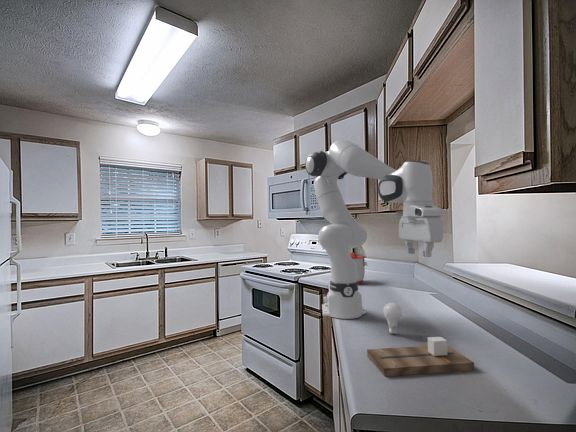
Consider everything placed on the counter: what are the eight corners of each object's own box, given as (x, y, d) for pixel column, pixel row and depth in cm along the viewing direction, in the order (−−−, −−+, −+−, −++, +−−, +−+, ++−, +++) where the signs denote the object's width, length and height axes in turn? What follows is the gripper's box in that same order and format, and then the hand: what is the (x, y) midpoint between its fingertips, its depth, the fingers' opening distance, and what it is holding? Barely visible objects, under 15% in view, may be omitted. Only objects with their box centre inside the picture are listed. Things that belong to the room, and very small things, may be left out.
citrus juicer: (367, 286, 189) (366, 253, 189) (339, 284, 194) (338, 253, 195) (368, 281, 204) (368, 251, 204) (342, 280, 209) (342, 250, 210)
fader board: (384, 376, 79) (384, 367, 79) (367, 356, 91) (367, 348, 91) (474, 369, 82) (473, 361, 82) (446, 351, 94) (445, 343, 94)
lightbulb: (379, 332, 111) (379, 301, 111) (393, 329, 113) (393, 299, 113) (391, 338, 105) (391, 306, 105) (406, 335, 107) (405, 303, 107)
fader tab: (434, 355, 86) (433, 341, 86) (427, 351, 89) (427, 337, 89) (447, 355, 86) (447, 340, 86) (440, 350, 89) (440, 336, 89)
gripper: (393, 212, 107) (394, 252, 107) (426, 210, 87) (427, 259, 86) (410, 212, 108) (411, 251, 108) (447, 210, 87) (448, 258, 87)
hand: (418, 255), depth 97 cm, fingers open, 8 cm apart
